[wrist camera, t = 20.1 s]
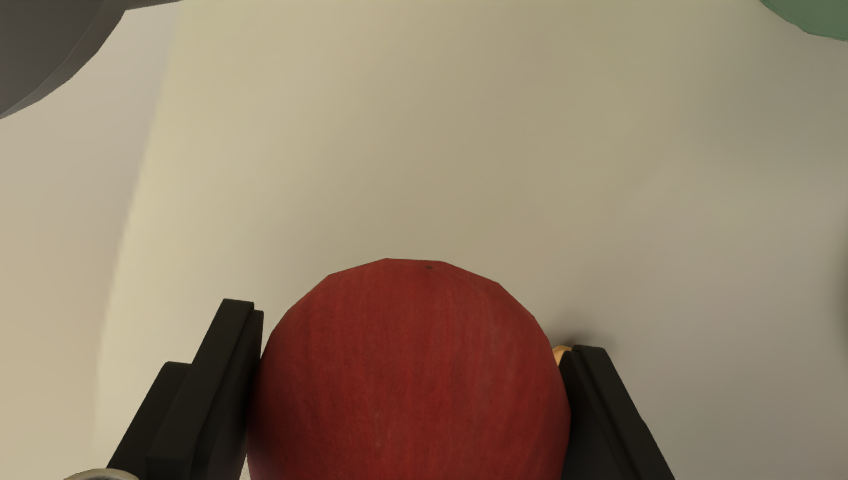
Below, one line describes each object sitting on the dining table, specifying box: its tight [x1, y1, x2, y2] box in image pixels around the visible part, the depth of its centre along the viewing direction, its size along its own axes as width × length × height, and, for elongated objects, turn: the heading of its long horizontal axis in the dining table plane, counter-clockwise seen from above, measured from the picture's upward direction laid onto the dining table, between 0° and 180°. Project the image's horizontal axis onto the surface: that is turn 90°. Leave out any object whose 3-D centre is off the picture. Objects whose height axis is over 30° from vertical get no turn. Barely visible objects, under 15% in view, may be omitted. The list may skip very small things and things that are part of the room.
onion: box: [246, 258, 571, 480], centre depth 11 cm, size 6×6×8 cm
